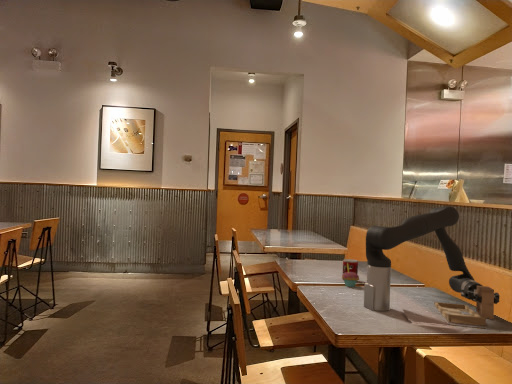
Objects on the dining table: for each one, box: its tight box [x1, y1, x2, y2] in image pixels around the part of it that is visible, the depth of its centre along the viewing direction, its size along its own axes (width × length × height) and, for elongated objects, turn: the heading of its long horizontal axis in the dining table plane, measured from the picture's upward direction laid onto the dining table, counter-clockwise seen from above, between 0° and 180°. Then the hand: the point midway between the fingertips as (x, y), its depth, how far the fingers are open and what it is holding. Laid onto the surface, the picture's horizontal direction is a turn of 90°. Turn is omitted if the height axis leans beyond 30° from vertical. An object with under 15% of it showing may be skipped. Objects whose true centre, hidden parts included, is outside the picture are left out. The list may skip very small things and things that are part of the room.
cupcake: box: [341, 263, 360, 288], centre depth 196 cm, size 9×8×12 cm
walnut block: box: [475, 285, 495, 320], centre depth 148 cm, size 6×4×12 cm, turn 168°
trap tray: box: [434, 301, 487, 330], centre depth 148 cm, size 22×12×4 cm, turn 167°
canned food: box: [342, 258, 359, 281], centre depth 210 cm, size 8×8×11 cm
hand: (488, 300), depth 145 cm, fingers open, 4 cm apart
